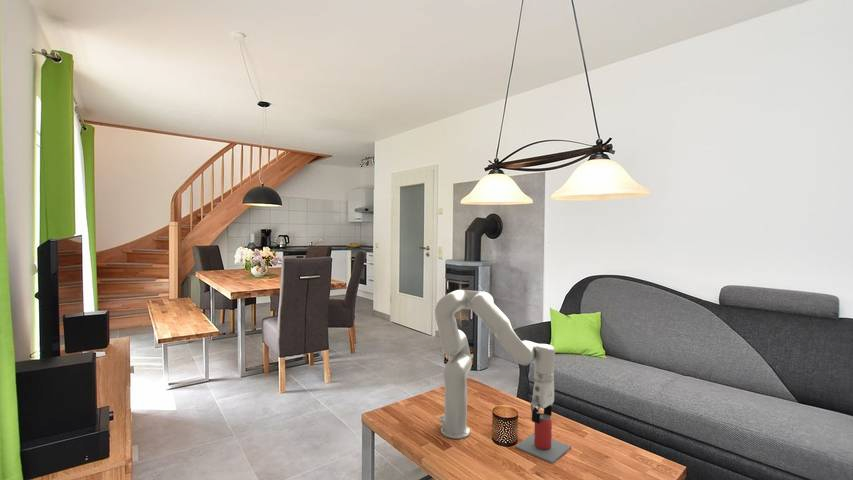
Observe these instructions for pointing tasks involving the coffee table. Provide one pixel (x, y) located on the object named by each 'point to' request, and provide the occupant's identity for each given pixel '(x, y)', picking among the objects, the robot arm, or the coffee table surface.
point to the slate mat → (547, 455)
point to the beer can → (543, 432)
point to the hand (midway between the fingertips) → (541, 418)
